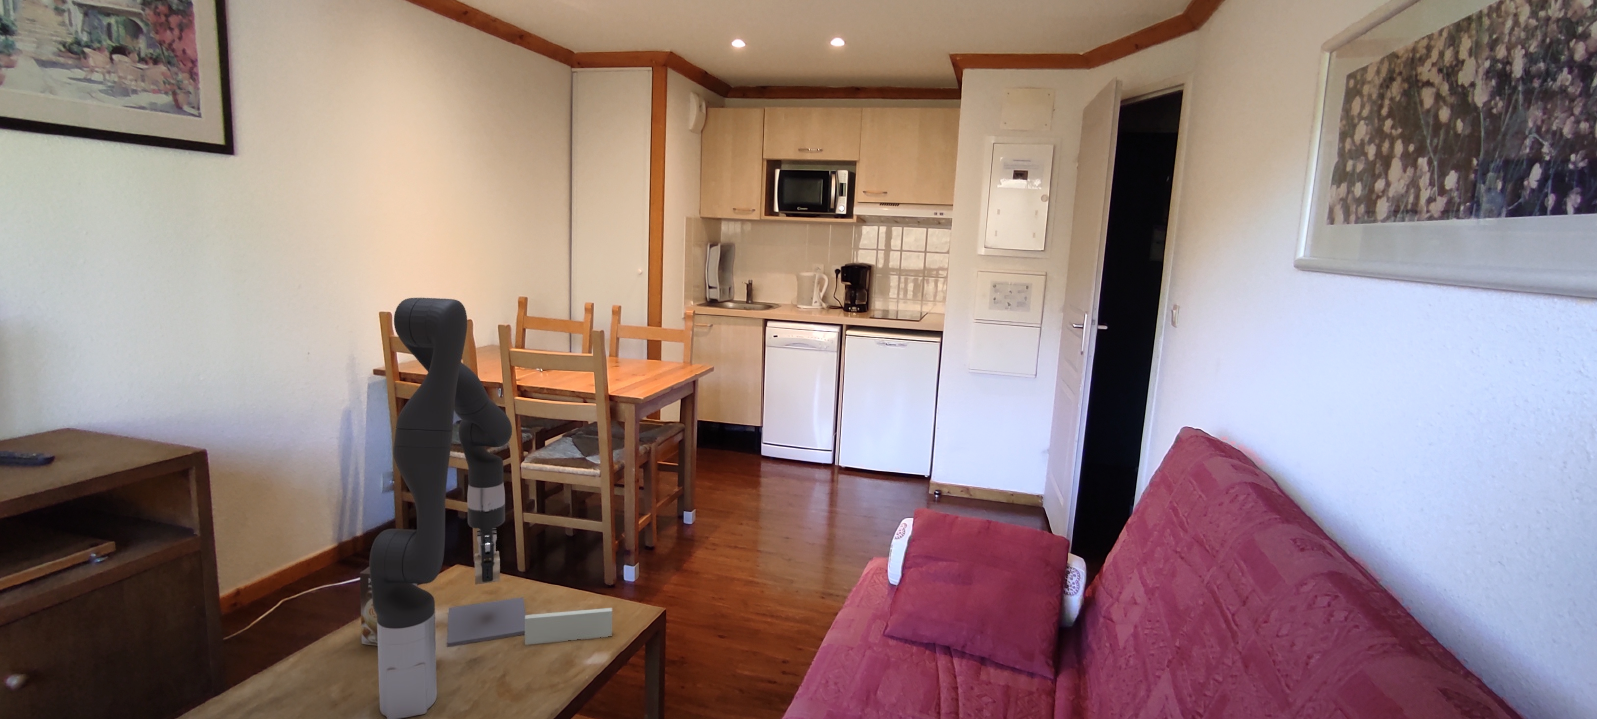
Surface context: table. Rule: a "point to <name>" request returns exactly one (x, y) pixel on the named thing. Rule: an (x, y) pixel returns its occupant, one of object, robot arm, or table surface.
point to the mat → (486, 621)
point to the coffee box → (368, 610)
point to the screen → (568, 626)
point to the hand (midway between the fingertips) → (487, 575)
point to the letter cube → (479, 569)
